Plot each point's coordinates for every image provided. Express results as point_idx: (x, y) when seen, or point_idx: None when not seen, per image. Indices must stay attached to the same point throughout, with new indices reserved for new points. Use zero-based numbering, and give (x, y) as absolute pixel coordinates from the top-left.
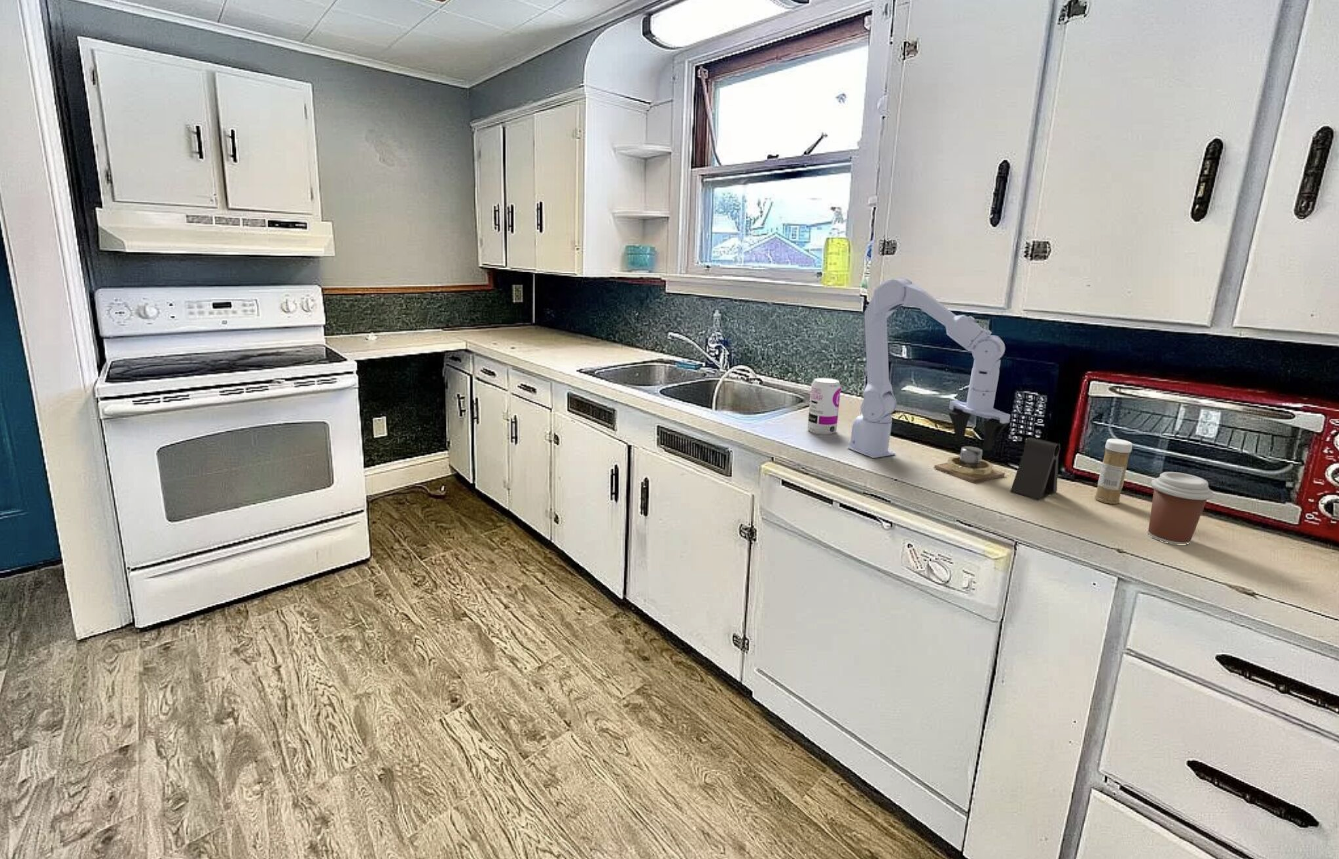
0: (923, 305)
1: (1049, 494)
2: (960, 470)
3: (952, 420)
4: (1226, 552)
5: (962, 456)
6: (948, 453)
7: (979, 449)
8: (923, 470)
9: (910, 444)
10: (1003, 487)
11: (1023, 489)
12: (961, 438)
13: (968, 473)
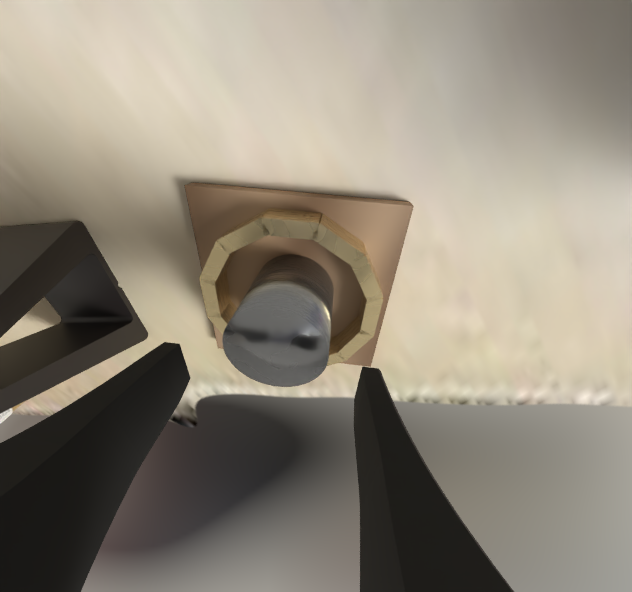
0: None
1: (50, 300)
2: (269, 213)
3: (466, 551)
4: None
5: (296, 289)
6: (451, 391)
7: (258, 374)
8: (434, 112)
9: (613, 382)
10: (131, 246)
11: (25, 236)
12: (357, 403)
13: (239, 224)
